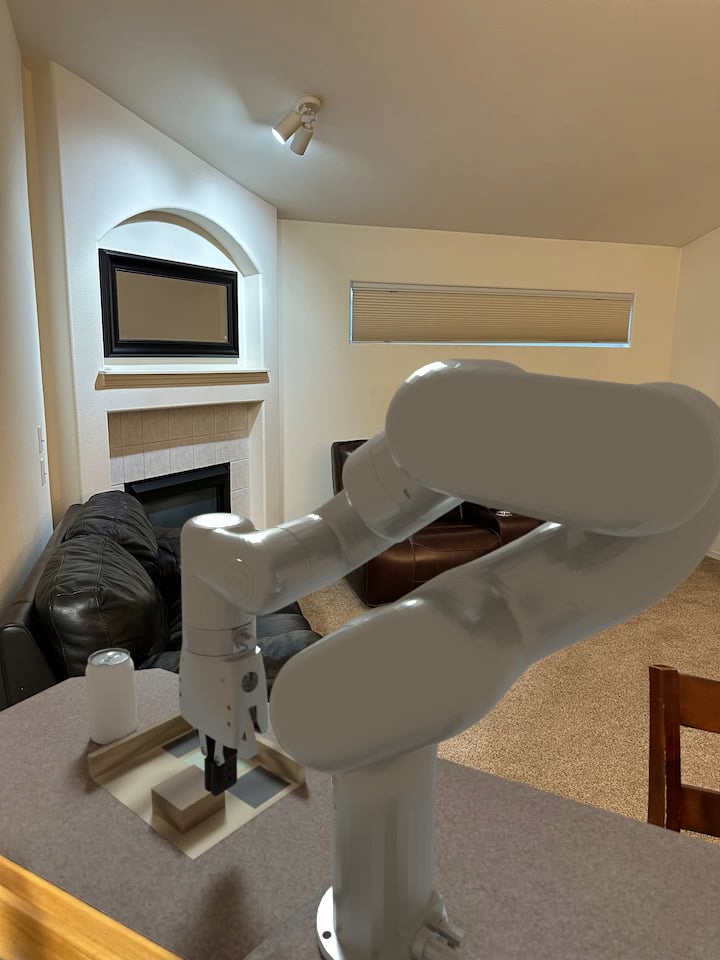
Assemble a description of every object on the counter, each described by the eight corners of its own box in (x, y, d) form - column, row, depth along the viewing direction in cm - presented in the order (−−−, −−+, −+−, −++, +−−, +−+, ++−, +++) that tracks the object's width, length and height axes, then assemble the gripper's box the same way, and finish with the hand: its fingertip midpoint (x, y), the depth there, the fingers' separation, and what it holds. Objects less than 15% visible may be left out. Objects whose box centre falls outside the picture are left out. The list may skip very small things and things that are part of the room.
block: (225, 806, 76) (224, 784, 76) (182, 834, 72) (181, 810, 71) (194, 785, 80) (193, 764, 79) (152, 811, 75) (151, 788, 75)
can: (145, 722, 96) (140, 647, 94) (125, 748, 90) (120, 668, 87) (104, 720, 97) (98, 645, 94) (81, 745, 90) (75, 666, 88)
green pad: (254, 764, 85) (254, 762, 85) (217, 786, 80) (217, 784, 80) (218, 743, 90) (218, 741, 89) (182, 763, 85) (182, 761, 85)
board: (305, 788, 81) (305, 759, 80) (193, 868, 68) (191, 834, 67) (199, 726, 95) (198, 701, 94) (89, 783, 82) (87, 754, 81)
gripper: (295, 642, 65) (293, 801, 69) (205, 602, 74) (207, 744, 78) (238, 668, 59) (238, 839, 63) (147, 622, 69) (152, 773, 72)
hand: (221, 786), depth 71 cm, fingers closed
